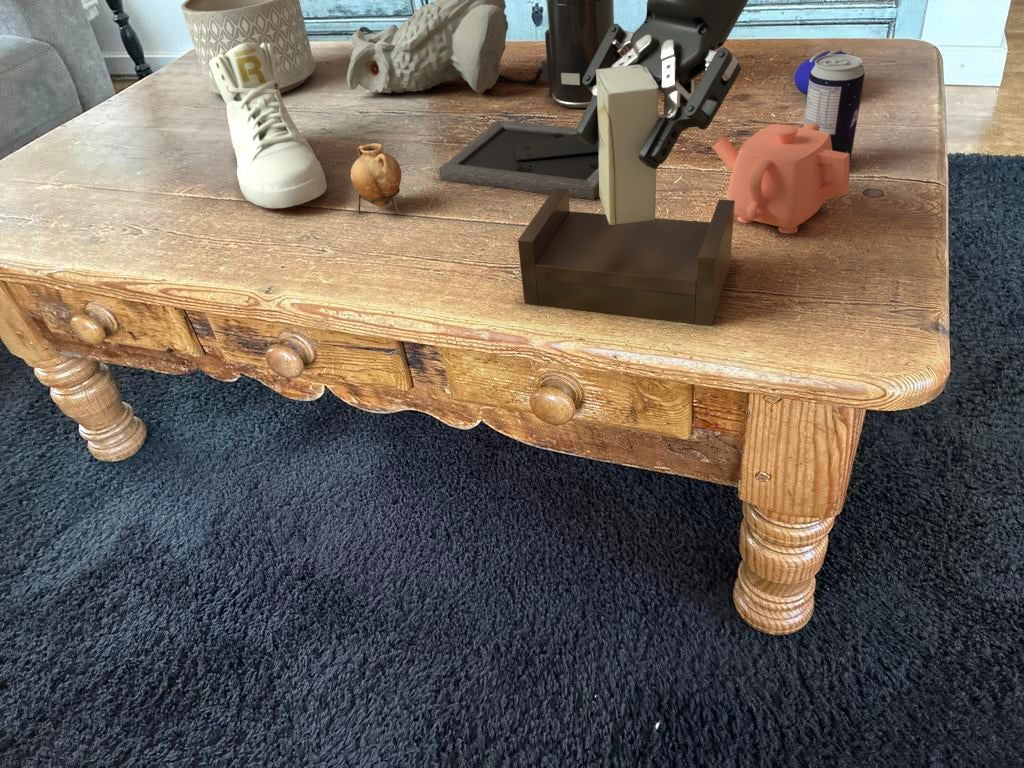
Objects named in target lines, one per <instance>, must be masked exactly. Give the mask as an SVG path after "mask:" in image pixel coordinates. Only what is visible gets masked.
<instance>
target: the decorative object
mask: <svg viewBox="0 0 1024 768" xmlns="http://www.w3.org/2000/svg"><path fill="white" fill-rule="evenodd" d="M834 54H845V55H852V56H854V53H853V52H848V53H847V52H843V49H842V48H837V49H834V50H832V51H831V49H823V50H821V51H819V52H818V53H816V54H815V55H813V56H811V57H809V58H807V59H806V60H804V61H803V62H802V63H799V66H798V67H797V68H796V70H795V72H794V77H793V78H794V84H795V86H796V87H795V88H797V90H798V91H799V92H800V93H801V94H803V95H805V96H807V94H808V86H809V78H810V72H811V70H812V69H813V67H814V66H815V61H816V60H817V59H818V58H820V57H823V56H827V55H834ZM862 67H863V69H864V70H865V67H864V65H863V64H862Z"/></svg>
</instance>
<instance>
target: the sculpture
mask: <svg viewBox="0 0 1024 768" xmlns="http://www.w3.org/2000/svg"><path fill="white" fill-rule="evenodd" d="M506 8H507V5H506V0H434V1H432V2H429V3H427V4H424V5H421V6H420V7H419V9H416V10H415V11H414V13H413V14H412V16H409V17H408V18H406V20H405V22H402V24H401V25H400V26H399V27H398V26H397V25H396V24H392V25H391V26H388V27H387V28H386V29H383V30H380V31H379V32H377V33H376V32H374V33H371V34H368V33H367V34H365V33H364V31H363V32H362V31H359V30H357V31H356V32H354V33H353V34H352V35H351V42H352V44H353V47H354V48H353V49H352V52H351V56H350V58H349V59H350V62H349V65H348V69H347V73H346V78H345V79H346V83H347V87H348V89H350V90H351V91H352V90H356V89H357V87H358V86H359V85H360V87H361V88H362V89H364V90H369V91H370V92H371V93H372V94H380V93H386V94H391V93H393V92H394V93H396V94H397V93H398V94H404V93H405V92H416V91H419V92H421V91H422V92H423V91H425V90H431V89H432V88H433V87H434V86H435V87H436V86H439V85H440V84H443V83H445V82H447V81H449V82H450V81H454V80H456V79H457V78H458V77H459V76H461V78H463V80H464V81H465V82H467V83H468V85H469V86H470V87H471V89H472V90H473V91H474V92H475V93H478V94H483V93H485V92H486V91H487V89H488V90H491V89H492V87H493V86H495V85H496V83H497V80H498V79H497V78H498V77H499V74H500V73H501V60H502V57H503V56H504V52H505V50H506V39H507V33H508V30H509V22H508V20H507V16H508V15H507V14H506V13H505V10H506ZM375 33H376V34H375Z"/></svg>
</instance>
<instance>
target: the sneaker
mask: <svg viewBox="0 0 1024 768" xmlns="http://www.w3.org/2000/svg"><path fill="white" fill-rule="evenodd" d="M209 64H210V67H211V70H212V72H213V74H214V78H215V81H216V84H217V86H218V88H219V90H220V92H221V94H220V95H221V97H222V99H223V101H224V103H225V104H226V116H227V122H228V127H229V132H230V139H231V143H232V147H233V150H234V154H235V157H236V164H237V168H236V175H237V181H238V184H239V187H240V191H241V194H242V195H243V197H244V199H245V200H247V201H248V202H250V203H251V204H254V205H255V206H258V207H261V208H265V209H285V208H291V207H294V206H299V205H302V204H305V203H308V202H310V201H312V200H315V199H317V198H319V197H320V196H322V195H323V194H324V193H326V191H327V187H328V185H327V184H328V183H327V179H326V175H325V172H324V170H323V167H322V165H321V162H320V161H319V160H318V158H317V157H316V155H315V152H314V150H313V149H312V147H311V145H310V144H309V142H308V141H307V139H306V138H305V136H304V135H303V134H302V132H300V130H299V129H298V127H297V126H296V124H295V122H294V121H293V119H292V117H291V116H290V114H289V112H288V110H287V107H286V106H285V104H284V100H283V99H282V98H283V97H282V93H280V91H279V87H280V75H279V67H278V62H277V59H276V56H275V52H274V49H273V45H272V44H270V43H268V46H267V45H266V44H265V43H262V44H261V45H260V46H259V45H258V44H257V43H249V42H248V43H246V42H245V43H244V44H239V45H238V46H236V47H234V48H232V49H230V50H229V51H225V52H222V53H220V54H218V55H217V56H215V57H214V58H213V59H211V60H210V62H209Z"/></svg>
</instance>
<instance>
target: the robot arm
mask: <svg viewBox="0 0 1024 768" xmlns="http://www.w3.org/2000/svg"><path fill="white" fill-rule="evenodd" d="M748 2H749V0H647V2H646V14H645V19H644V20H643V23H642V24H641V25H640V26H639V27H638V28H637V29H636V30H635V31H634V32H633V31H630V30H629V31H628V30H624V28H622V26H620V24H619V23H615V9H614V4H615V3H614V0H546V8H547V19H548V20H547V23H548V28H547V29H546V30H545V32H544V39H545V53H546V59H543V60H542V61H541V67H539V68H538V70H537V71H536V73H535V76H534V77H532V78H529V79H519V78H518V79H517V78H514V77H510V76H506V75H503V74H500V73H499V77H498V78H497V80H500V81H503V82H506V83H511V84H522V85H533V84H536V83H537V82H539V81H540V79H541V76H542V81H544V82H548V93H549V94H548V95H549V98H552V102H553V103H554V104H556V105H557V106H560V107H564V108H568V109H585V110H584V112H583V114H582V115H581V118H580V120H579V122H578V123H577V127H576V128H577V137H579V138H580V139H581V140H582V141H584V142H585V143H586V144H589V145H592V146H593V145H595V144H596V142H597V140H598V110H597V80H596V70H597V69H604V68H612V67H620V66H629V65H641V66H643V67H646V68H647V70H648V71H649V73H650V74H651V75H652V77H653V79H654V80H655V82H656V84H657V85H658V92H661V93H662V94H663V98H664V99H663V100H664V101H663V115H664V118H663V117H659V116H658V120H657V123H656V124H655V126H654V128H653V129H652V131H651V133H650V135H649V137H648V138H647V140H646V142H645V144H644V146H643V148H642V149H641V151H640V153H639V160H640V161H642V162H643V163H644V164H645V165H646V166H648V167H650V168H653V169H656V170H657V169H658V168H659V166H660V165H662V164H663V163H665V161H666V160H667V159H668V157H669V155H670V153H671V152H672V150H673V149H674V146H675V145H676V143H677V141H678V139H679V137H680V136H681V134H682V132H685V131H687V130H688V129H690V128H698V129H699V130H702V131H703V130H706V129H707V128H709V127H710V125H711V124H712V121H713V120H714V118H715V117H716V115H717V113H718V111H719V110H720V108H721V106H722V104H723V103H724V101H725V99H726V97H727V96H728V94H729V92H730V90H731V88H732V87H733V85H734V83H735V82H736V80H737V78H738V76H739V74H740V73H741V71H742V65H741V64H740V62H739V61H738V59H737V58H736V57H735V56H734V54H733V53H732V52H731V51H730V50H729V49H728V48H727V47H724V45H725V43H726V42H727V40H728V37H729V36H730V34H731V33H732V31H733V29H734V27H735V25H736V24H737V22H738V20H739V18H740V17H741V14H742V13H743V11H744V9H745V7H746V6H747V4H748ZM358 31H362V32H363V33H364V32H365V33H367V34H371V33H375V34H377V33H376V32H373V31H372V29H370V28H368V27H366V26H361V27H360V28H359V29H358ZM703 73H704V74H703ZM701 74H703V75H702V76H701V78H700V80H699V82H698V83H697V86H696V87H695V79H696V78H698V77H699V76H700V75H701Z"/></svg>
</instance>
